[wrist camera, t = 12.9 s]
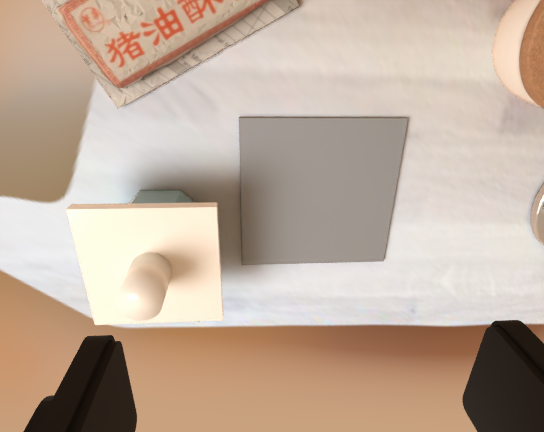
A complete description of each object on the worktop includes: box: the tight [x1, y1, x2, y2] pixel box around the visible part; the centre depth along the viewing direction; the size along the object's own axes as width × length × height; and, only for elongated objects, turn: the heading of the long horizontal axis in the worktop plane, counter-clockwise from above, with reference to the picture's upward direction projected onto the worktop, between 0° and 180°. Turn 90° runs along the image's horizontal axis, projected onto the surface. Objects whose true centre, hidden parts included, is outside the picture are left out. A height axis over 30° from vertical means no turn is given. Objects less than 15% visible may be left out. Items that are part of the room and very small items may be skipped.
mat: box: [239, 117, 408, 265], centre depth 38 cm, size 16×16×1 cm
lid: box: [66, 202, 223, 325], centre depth 31 cm, size 12×12×6 cm
